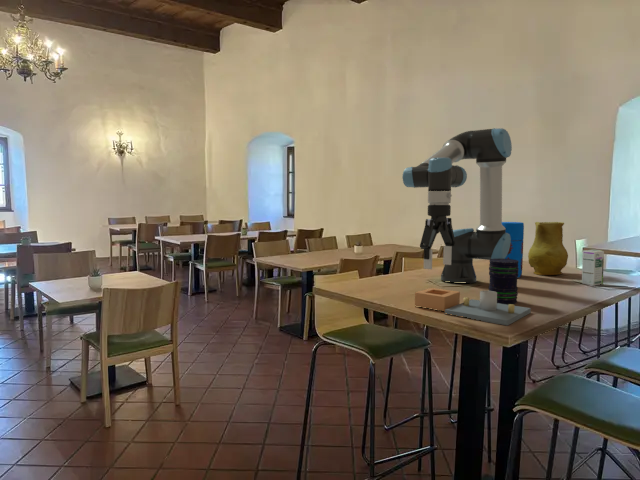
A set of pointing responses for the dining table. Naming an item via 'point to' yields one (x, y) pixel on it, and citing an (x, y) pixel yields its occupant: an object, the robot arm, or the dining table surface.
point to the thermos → (515, 242)
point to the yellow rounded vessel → (548, 249)
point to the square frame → (437, 298)
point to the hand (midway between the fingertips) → (437, 266)
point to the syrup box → (592, 267)
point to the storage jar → (504, 280)
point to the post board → (489, 315)
